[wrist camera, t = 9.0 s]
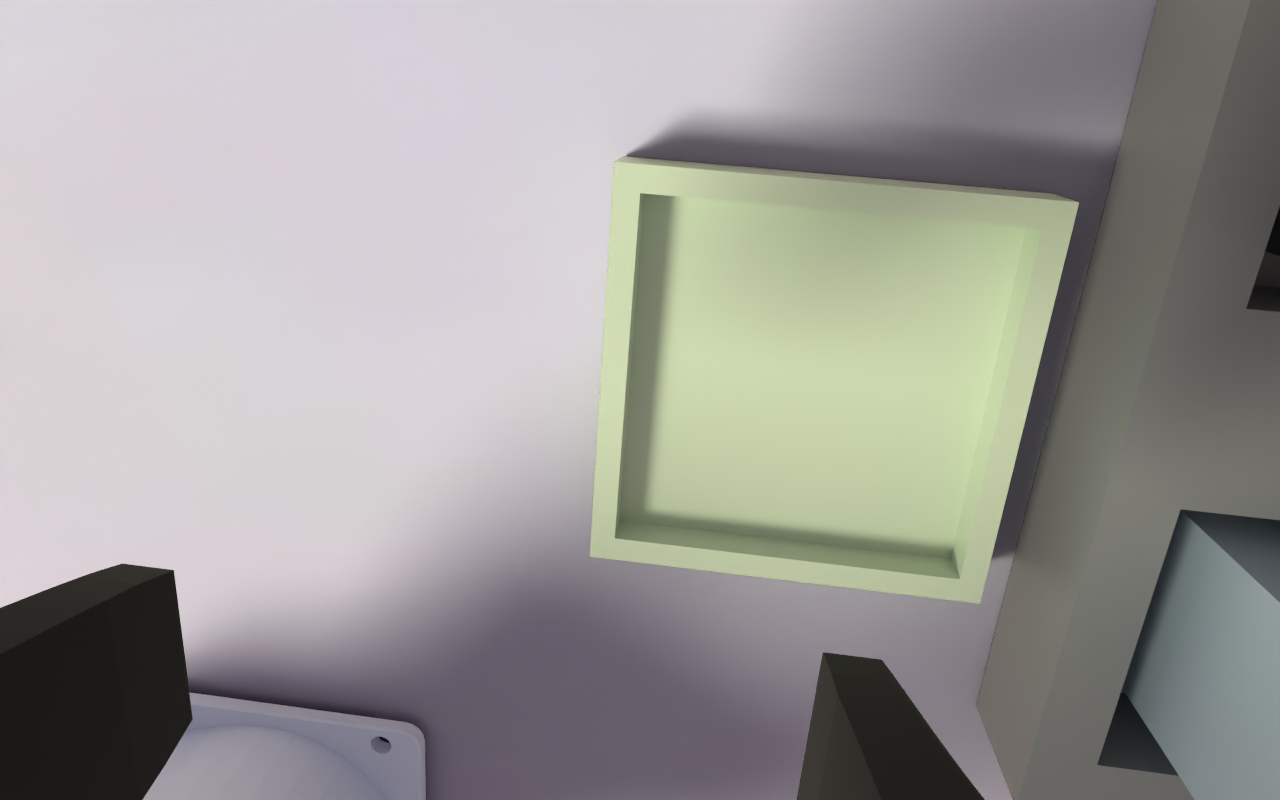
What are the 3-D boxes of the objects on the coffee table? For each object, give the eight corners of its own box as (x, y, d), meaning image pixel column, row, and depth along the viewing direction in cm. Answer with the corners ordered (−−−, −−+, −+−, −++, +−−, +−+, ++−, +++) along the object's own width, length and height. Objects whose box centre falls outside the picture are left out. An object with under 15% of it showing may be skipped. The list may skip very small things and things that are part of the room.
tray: (599, 525, 19) (589, 556, 18) (623, 156, 17) (614, 161, 15) (962, 567, 19) (979, 603, 17) (1050, 193, 16) (1079, 202, 15)
